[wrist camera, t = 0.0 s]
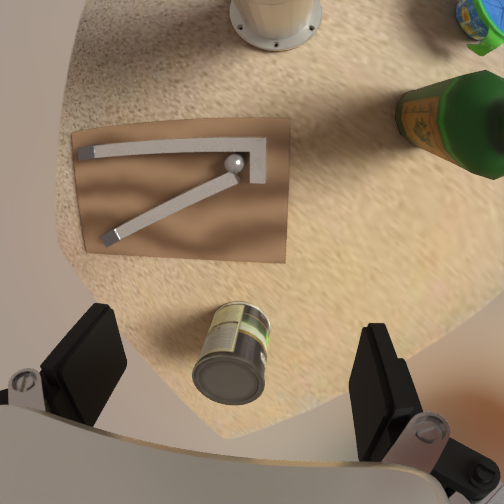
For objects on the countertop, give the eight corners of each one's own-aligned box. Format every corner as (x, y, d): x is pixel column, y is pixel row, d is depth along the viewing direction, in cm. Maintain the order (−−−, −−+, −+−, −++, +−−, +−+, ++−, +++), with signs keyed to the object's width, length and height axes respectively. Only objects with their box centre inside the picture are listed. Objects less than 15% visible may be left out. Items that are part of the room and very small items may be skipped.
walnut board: (76, 131, 45) (71, 132, 43) (290, 118, 42) (290, 118, 40) (91, 249, 53) (86, 252, 52) (285, 259, 50) (285, 263, 49)
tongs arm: (241, 149, 42) (238, 151, 39) (253, 174, 44) (250, 178, 41) (104, 220, 49) (94, 226, 46) (115, 240, 50) (106, 247, 47)
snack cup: (480, 74, 34) (517, 70, 25) (429, 30, 33) (460, 14, 24) (508, 15, 28) (542, 5, 19) (461, -27, 27) (491, -46, 18)
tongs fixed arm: (267, 136, 42) (265, 137, 39) (266, 179, 44) (265, 183, 41) (88, 144, 44) (77, 147, 41) (92, 181, 47) (81, 186, 44)
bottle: (376, 133, 41) (486, 161, 15) (401, 69, 37) (525, 32, 11) (435, 166, 41) (564, 230, 16) (460, 106, 37) (599, 119, 12)
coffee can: (276, 307, 54) (271, 364, 41) (264, 352, 58) (257, 411, 45) (215, 294, 54) (193, 348, 41) (209, 341, 58) (190, 397, 45)
